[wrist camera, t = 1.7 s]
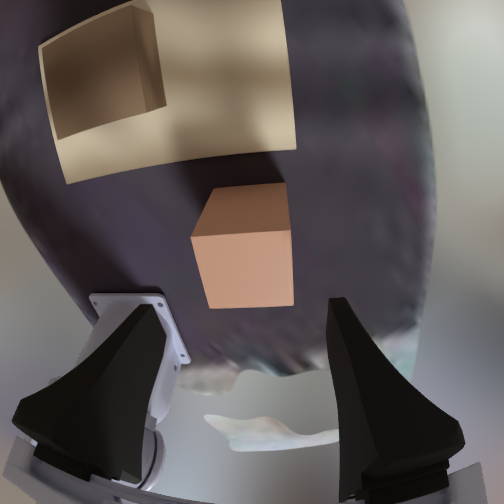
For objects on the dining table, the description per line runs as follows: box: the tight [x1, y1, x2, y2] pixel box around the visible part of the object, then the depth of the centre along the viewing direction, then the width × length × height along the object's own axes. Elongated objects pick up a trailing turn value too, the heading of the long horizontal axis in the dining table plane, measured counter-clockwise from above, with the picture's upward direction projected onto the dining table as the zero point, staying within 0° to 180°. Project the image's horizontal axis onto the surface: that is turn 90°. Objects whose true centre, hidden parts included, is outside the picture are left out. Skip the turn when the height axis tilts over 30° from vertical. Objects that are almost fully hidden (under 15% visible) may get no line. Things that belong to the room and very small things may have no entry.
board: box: [38, 0, 296, 184], centre depth 14 cm, size 11×16×1 cm
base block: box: [42, 5, 167, 140], centre depth 12 cm, size 6×6×3 cm
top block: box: [191, 183, 294, 308], centre depth 17 cm, size 4×4×6 cm
